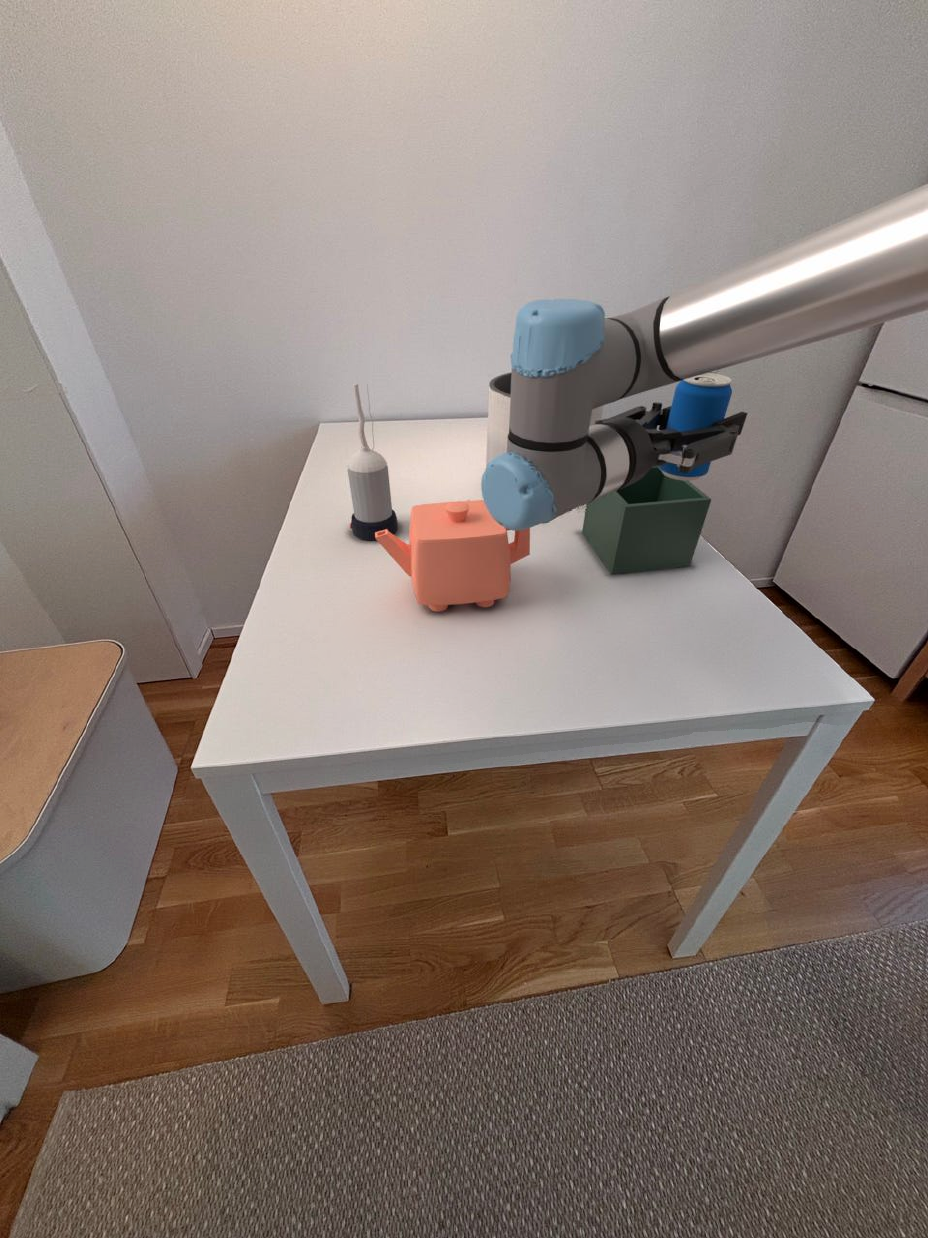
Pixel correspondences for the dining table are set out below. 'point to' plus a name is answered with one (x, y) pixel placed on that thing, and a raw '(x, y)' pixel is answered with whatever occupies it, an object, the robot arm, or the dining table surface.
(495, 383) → the planter
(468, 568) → the teapot
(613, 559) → the waste bin
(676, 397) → the beverage can
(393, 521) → the humidifier
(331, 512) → the dining table surface
